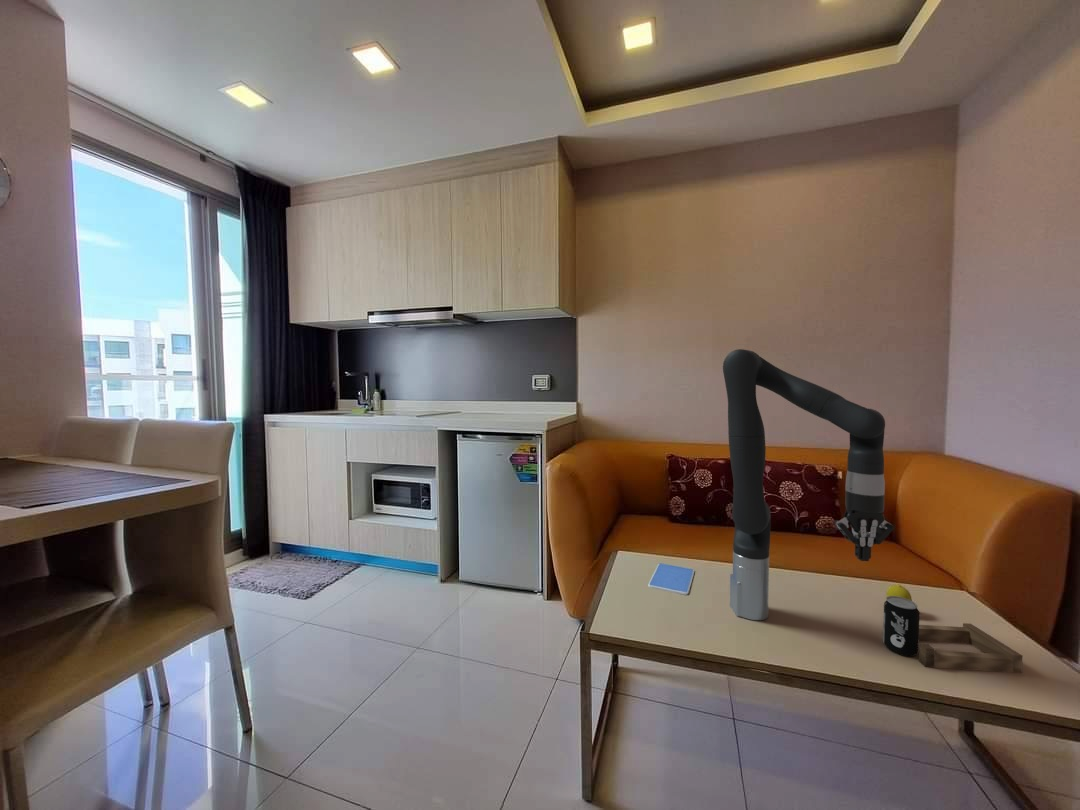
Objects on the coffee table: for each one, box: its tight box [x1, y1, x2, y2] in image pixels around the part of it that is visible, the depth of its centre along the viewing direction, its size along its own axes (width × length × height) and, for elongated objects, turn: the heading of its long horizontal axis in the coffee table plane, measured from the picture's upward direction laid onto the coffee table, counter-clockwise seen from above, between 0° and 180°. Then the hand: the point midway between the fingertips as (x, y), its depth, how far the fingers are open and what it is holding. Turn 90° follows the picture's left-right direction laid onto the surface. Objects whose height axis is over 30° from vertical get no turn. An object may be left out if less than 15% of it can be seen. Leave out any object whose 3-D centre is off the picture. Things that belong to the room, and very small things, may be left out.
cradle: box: [918, 622, 1023, 674], centre depth 100 cm, size 20×13×4 cm, turn 84°
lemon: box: [885, 584, 913, 601], centre depth 118 cm, size 6×6×8 cm
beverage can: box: [882, 596, 921, 657], centre depth 102 cm, size 7×7×12 cm
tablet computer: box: [647, 563, 696, 596], centre depth 140 cm, size 19×13×1 cm, turn 153°
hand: (862, 559), depth 102 cm, fingers closed
